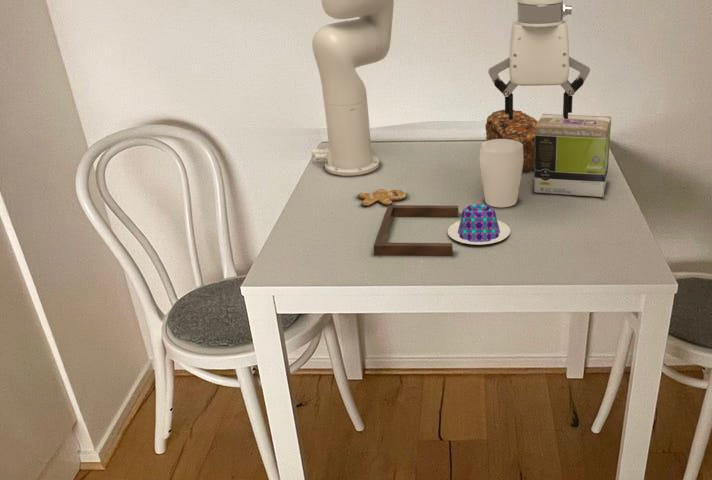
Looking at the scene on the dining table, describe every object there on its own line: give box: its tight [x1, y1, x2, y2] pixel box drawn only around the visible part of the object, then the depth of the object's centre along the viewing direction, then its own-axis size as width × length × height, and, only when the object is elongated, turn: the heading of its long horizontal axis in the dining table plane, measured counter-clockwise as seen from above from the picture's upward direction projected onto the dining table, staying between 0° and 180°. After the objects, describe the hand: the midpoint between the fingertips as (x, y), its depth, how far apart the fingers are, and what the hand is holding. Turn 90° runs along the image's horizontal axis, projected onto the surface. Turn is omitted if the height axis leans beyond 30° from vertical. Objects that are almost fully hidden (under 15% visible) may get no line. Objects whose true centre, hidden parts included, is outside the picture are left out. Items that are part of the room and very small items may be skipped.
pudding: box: [447, 203, 511, 245], centre depth 144 cm, size 12×12×5 cm
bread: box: [485, 109, 539, 173], centre depth 178 cm, size 19×11×10 cm, turn 20°
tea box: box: [533, 113, 612, 198], centre depth 161 cm, size 15×10×15 cm, turn 77°
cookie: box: [357, 188, 407, 207], centre depth 160 cm, size 8×1×10 cm
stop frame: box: [373, 204, 460, 257], centre depth 145 cm, size 14×18×2 cm
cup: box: [478, 139, 524, 209], centre depth 155 cm, size 9×9×12 cm
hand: (538, 117), depth 134 cm, fingers open, 9 cm apart
